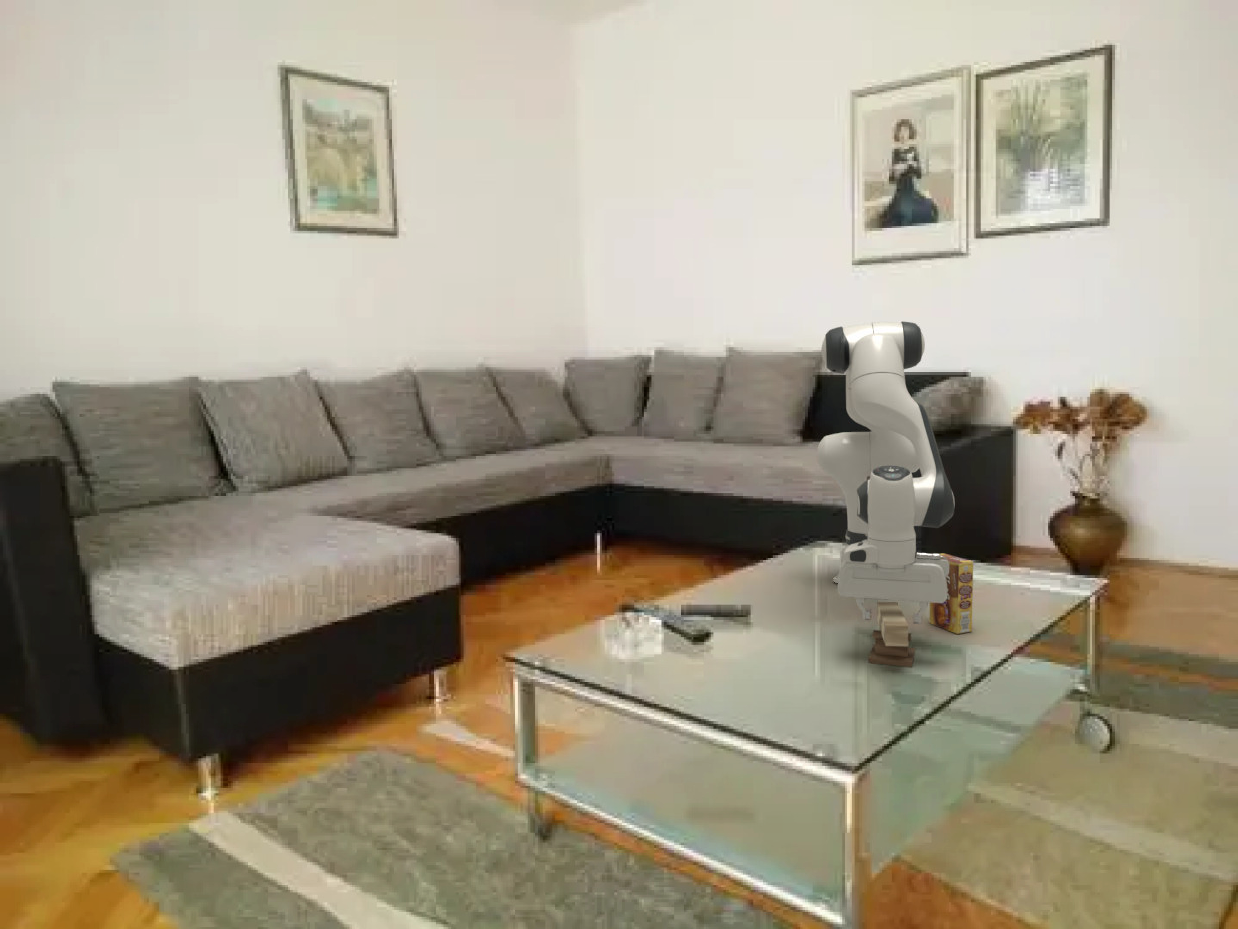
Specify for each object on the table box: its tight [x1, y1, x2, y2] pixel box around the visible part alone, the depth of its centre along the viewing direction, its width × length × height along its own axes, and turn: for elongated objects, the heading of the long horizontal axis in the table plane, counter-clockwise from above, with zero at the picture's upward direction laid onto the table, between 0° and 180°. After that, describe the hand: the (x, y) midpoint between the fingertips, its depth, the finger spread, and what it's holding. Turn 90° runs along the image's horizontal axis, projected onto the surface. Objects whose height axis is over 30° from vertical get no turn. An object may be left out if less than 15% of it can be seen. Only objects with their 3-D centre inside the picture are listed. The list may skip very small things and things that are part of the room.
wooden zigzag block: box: [876, 601, 909, 646], centre depth 168 cm, size 15×4×4 cm, turn 170°
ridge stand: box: [867, 629, 916, 668], centre depth 169 cm, size 8×8×5 cm
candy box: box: [928, 552, 974, 635], centre depth 185 cm, size 9×4×15 cm, turn 20°
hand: (891, 621), depth 168 cm, fingers open, 8 cm apart
